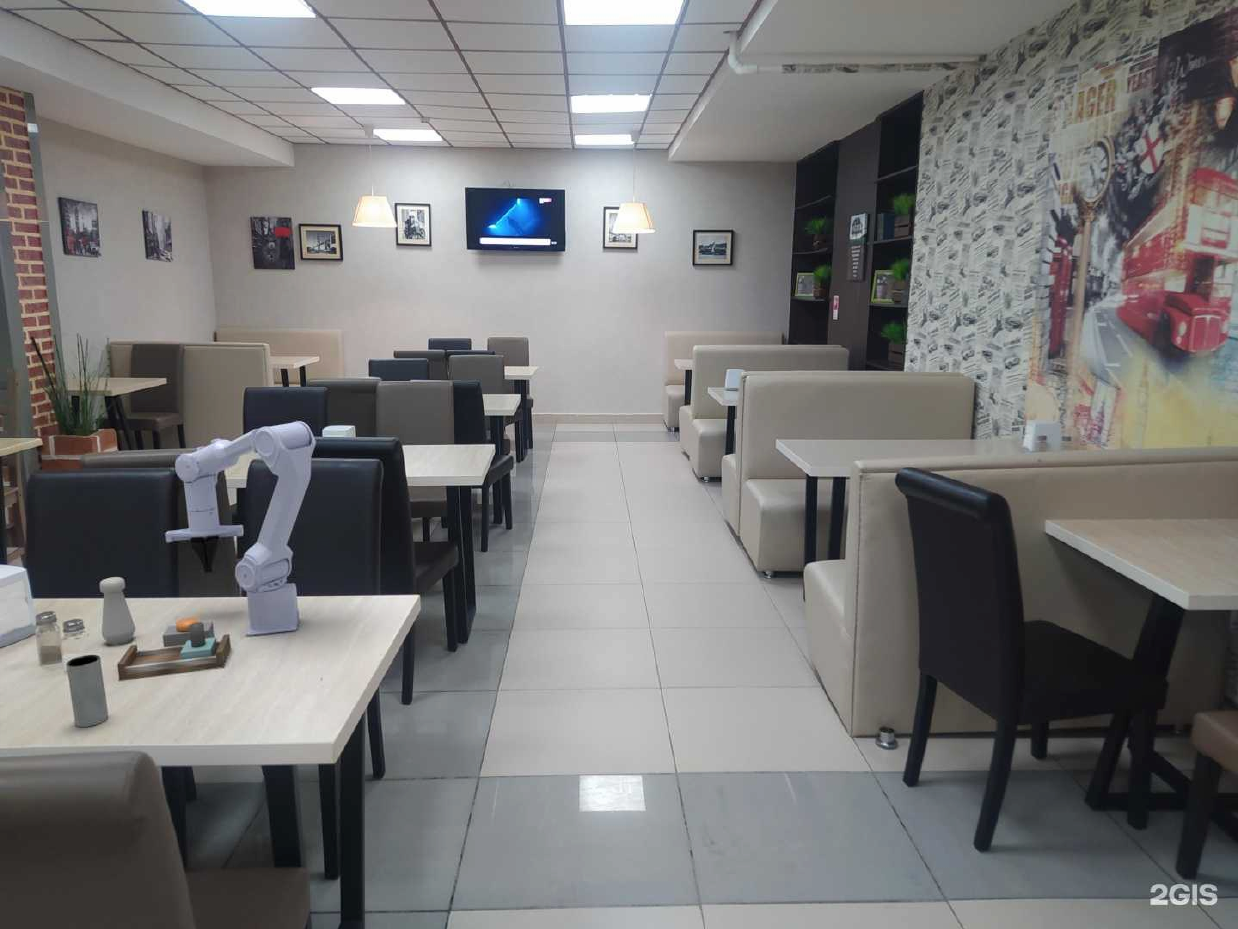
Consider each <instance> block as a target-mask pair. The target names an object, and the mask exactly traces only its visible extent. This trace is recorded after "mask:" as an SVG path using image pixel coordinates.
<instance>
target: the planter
mask: <svg viewBox="0 0 1238 929" xmlns="http://www.w3.org/2000/svg"><path fill="white" fill-rule="evenodd" d="M101 660H102V659H101V656H100V655H98V654H86V655H81V656H77V657H75V658H72V659H71V660H68V661H67V662H66V665H65V666H66V672H67V678H68V685H69V691H70V699H71V704H72V705H71V706H72V712H73V713H72V714H73V718H74V724H75V726H76V727H80V728H87V727H93V725H94V726H96V725H99V724H101V723H104V722H105V721H106V720H108V718H109V711H108V710H109V709H108V704H107V696H106V690H105V683H104V676H103V675H104V674H103V669H102V661H101Z"/></svg>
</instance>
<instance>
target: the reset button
mask: <svg viewBox="0 0 1238 929" xmlns="http://www.w3.org/2000/svg"><path fill="white" fill-rule="evenodd" d="M197 622H200V619H199V618H197V617H186V618H182V619H180V620H177V621H176V622H175V626H176V629H177V630H178V631H189V625H190V624H192V623H197Z"/></svg>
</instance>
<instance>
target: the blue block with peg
mask: <svg viewBox="0 0 1238 929" xmlns="http://www.w3.org/2000/svg"><path fill="white" fill-rule="evenodd" d="M203 623H204V622H202V621H199V622H197V623H192V624H190V625H189V630H190V639H191V640H189V641H187V642H186V644H185V645H184V647H183V649H182V651H181V653H180V654H181V660H184V659H193V658H201V657H209V656H213V655H214V653H215V651H216V649H217V642H216V641H217V637H215V638H206V639H205V633H204V625H203Z"/></svg>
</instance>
